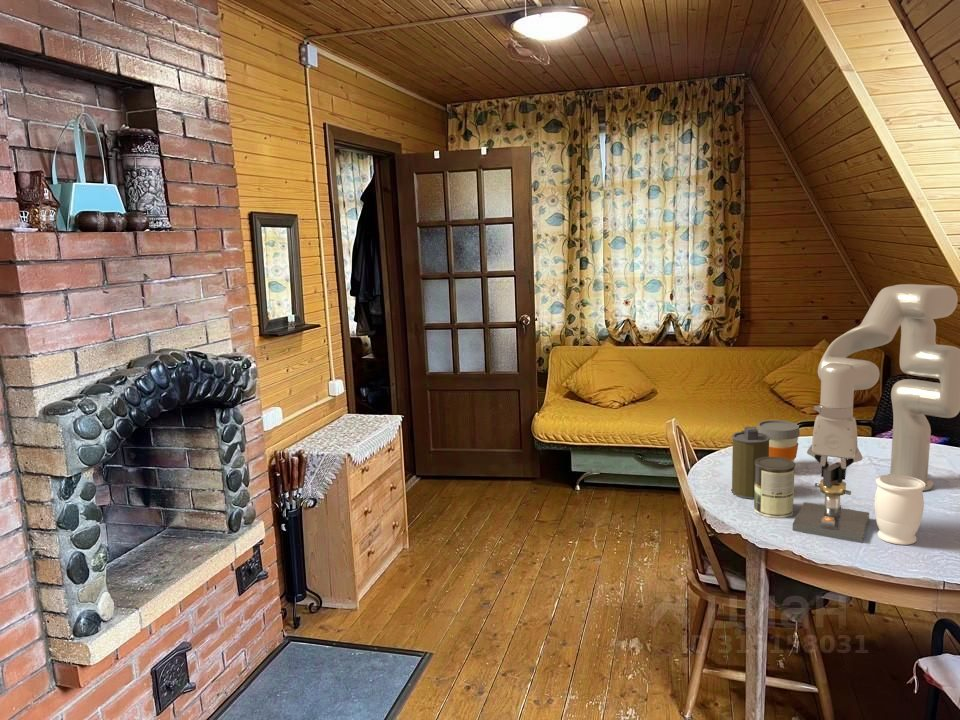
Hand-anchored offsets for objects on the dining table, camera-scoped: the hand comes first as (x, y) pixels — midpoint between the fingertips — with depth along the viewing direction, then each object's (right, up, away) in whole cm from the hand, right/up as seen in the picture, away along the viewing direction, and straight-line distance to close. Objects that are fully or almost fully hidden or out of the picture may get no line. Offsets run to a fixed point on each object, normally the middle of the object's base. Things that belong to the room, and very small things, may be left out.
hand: (833, 480), depth 187 cm
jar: (+12, -14, -7) cm, 20 cm away
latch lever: (0, -3, +1) cm, 3 cm away
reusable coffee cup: (+4, -4, +44) cm, 44 cm away
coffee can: (-10, -11, +13) cm, 20 cm away
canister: (-12, -8, +27) cm, 31 cm away
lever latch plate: (+1, -12, +2) cm, 12 cm away
